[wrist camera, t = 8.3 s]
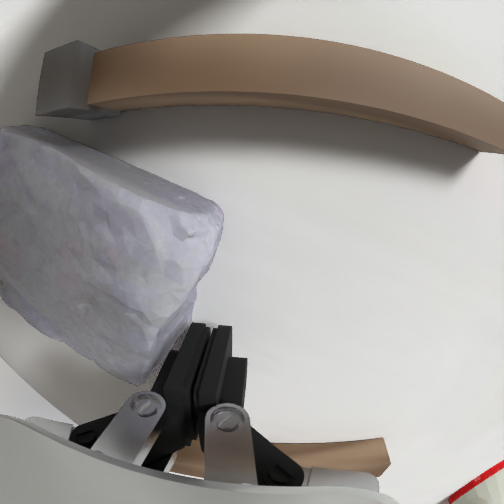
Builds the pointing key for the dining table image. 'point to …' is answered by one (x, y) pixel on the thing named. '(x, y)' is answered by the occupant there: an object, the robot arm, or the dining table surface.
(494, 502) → the white crested dome
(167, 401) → the robot arm
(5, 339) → the dining table surface
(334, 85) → the walnut chute
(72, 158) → the stone block
